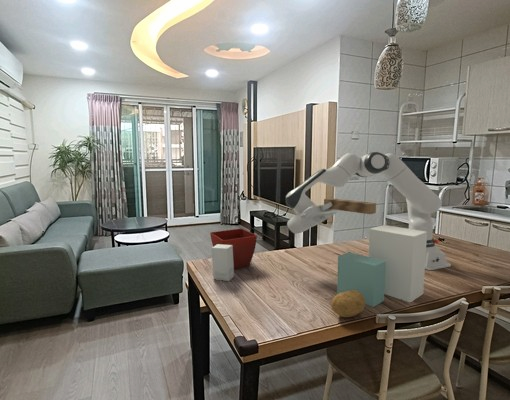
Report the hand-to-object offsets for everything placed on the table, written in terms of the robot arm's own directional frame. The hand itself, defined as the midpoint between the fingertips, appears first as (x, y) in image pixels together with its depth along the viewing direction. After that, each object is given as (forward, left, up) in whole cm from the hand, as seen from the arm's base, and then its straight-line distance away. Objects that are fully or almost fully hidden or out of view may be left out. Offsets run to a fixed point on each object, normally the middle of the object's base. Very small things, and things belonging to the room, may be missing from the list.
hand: (336, 203), depth 136 cm
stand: (-21, +12, -36) cm, 44 cm away
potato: (+8, +27, -36) cm, 46 cm away
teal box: (-4, +15, -36) cm, 39 cm away
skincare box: (+48, -17, -36) cm, 62 cm away
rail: (-3, +5, -2) cm, 7 cm away
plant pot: (+41, -35, -36) cm, 65 cm away
